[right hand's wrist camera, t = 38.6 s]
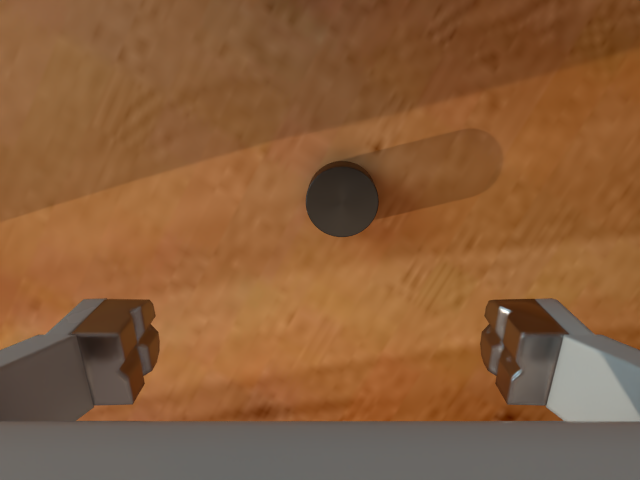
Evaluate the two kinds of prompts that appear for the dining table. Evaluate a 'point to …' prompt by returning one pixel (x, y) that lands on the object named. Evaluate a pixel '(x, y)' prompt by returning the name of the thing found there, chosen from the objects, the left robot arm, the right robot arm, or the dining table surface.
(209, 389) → the dining table surface
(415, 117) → the dining table surface
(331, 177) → the cap
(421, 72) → the dining table surface
